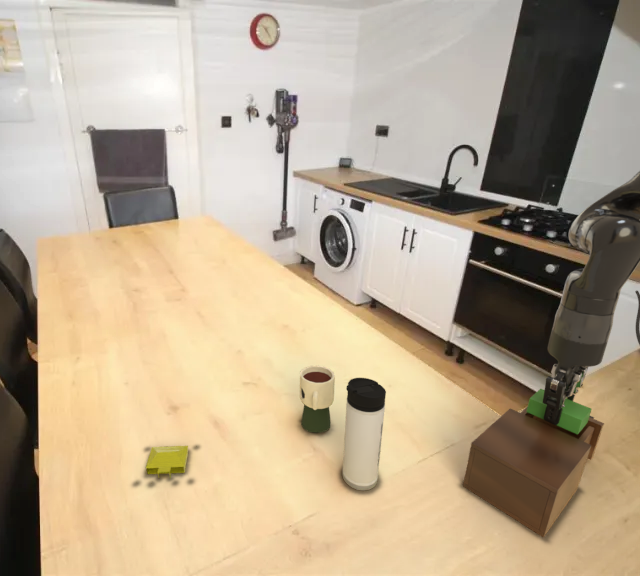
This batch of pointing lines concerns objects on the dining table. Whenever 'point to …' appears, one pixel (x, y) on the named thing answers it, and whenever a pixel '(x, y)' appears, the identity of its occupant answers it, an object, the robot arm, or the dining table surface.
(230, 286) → the dining table surface
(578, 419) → the green block
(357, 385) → the travel mug
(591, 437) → the drawer
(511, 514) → the cabinet
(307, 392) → the character mug
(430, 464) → the dining table surface
